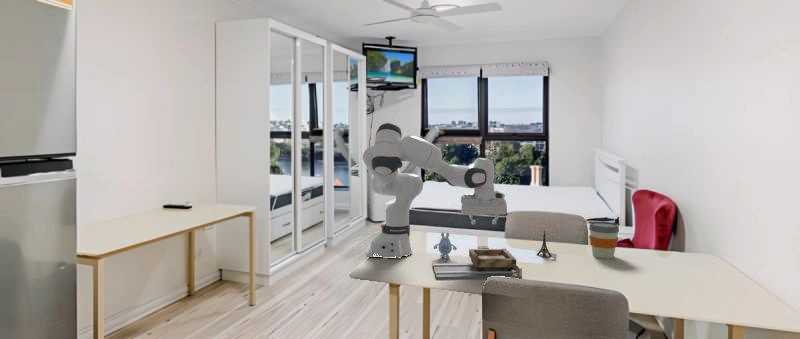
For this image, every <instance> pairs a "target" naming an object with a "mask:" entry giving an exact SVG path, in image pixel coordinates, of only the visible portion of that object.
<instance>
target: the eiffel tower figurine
mask: <svg viewBox="0 0 800 339" xmlns="http://www.w3.org/2000/svg"><path fill="white" fill-rule="evenodd" d="M535 252H537V253H536V256H538V257H540V258H543V259H546V258H551V259H550V261H551V262H557V254H556V253H554V252H550V250H549V249H548V247H547V242H546V230H543V239H542V244H541V247H540V249H539V250H535Z"/></svg>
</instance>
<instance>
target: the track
mask: <svg viewBox="0 0 800 339" xmlns="http://www.w3.org/2000/svg"><path fill="white" fill-rule="evenodd" d="M431 265H433V266H432V269H433V268H434V269H433V272H434V275H436V276H435V279H436V278H437V279H436V280H473V279H474V280H476V279H477V280H478V279H479V280H480V279H481V280H483V279H484V280H485V279H486V280H488V279H487V278H488V277H491V276H505V277H515V278H514V279H523V268H522V266H521V265H519V263H517V262H516V267H513V270H512V271H507V270H506V268H505V267H484V270H483V271H481V272H479V271H477V269H476V266H475V264H473V263H472V262H432V264H431Z"/></svg>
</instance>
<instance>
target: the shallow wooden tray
mask: <svg viewBox="0 0 800 339" xmlns="http://www.w3.org/2000/svg"><path fill="white" fill-rule="evenodd" d="M468 256H469V258H470V262H471V263H473V264H475V266H476V269H477V271H479V272H481V271H483V270H484V267H505V268H506V270H507V271H512V270H513V267H516V263H517V259H516V257H515V256H513V254H511V252H509V250H508V249H507V248H489V249H478V248H469V249H468Z"/></svg>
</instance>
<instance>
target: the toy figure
mask: <svg viewBox="0 0 800 339" xmlns="http://www.w3.org/2000/svg"><path fill="white" fill-rule="evenodd" d="M440 235H441V238H440V240H439V242H438V243H436V244H435V245H434V246H433V249H434V250H436V249H438V251H439V253H440V254H441V255H440V258H441V257H446V258H445V259H450V256H449V254H450V253H451V252H452V250H454V251H457V249H458V248H457V246H456V245H454V244H452V242H451V240H450V238H449V236H450V233H449V232H448V231H447V232H446V236H445V233H444V232H441V233H440Z"/></svg>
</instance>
